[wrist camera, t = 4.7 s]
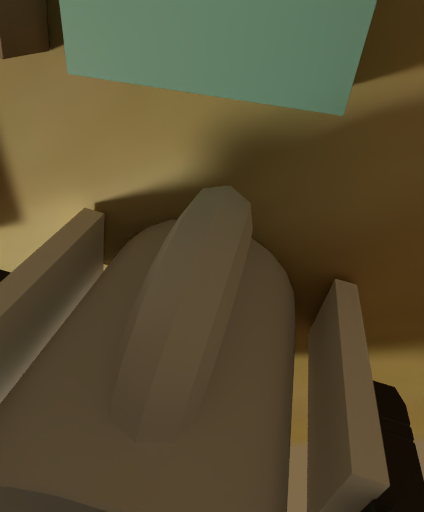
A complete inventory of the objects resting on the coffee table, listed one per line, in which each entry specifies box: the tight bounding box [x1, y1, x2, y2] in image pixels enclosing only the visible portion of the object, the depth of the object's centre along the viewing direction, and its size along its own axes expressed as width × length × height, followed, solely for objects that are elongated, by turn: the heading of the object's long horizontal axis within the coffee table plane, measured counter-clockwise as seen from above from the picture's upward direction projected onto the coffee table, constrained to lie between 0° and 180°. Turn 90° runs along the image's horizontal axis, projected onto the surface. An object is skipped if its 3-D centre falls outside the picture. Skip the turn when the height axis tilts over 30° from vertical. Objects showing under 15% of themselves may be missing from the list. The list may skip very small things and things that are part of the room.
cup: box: [0, 186, 296, 512], centre depth 10 cm, size 7×10×9 cm
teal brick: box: [59, 0, 377, 116], centre depth 8 cm, size 6×3×3 cm, turn 84°
